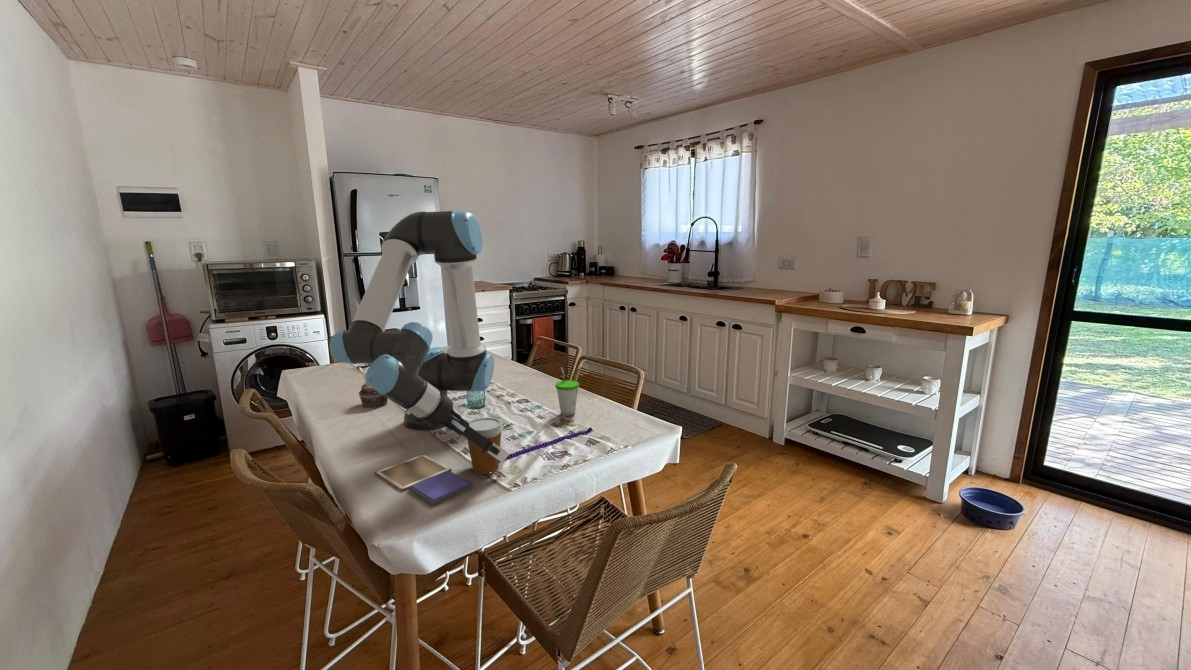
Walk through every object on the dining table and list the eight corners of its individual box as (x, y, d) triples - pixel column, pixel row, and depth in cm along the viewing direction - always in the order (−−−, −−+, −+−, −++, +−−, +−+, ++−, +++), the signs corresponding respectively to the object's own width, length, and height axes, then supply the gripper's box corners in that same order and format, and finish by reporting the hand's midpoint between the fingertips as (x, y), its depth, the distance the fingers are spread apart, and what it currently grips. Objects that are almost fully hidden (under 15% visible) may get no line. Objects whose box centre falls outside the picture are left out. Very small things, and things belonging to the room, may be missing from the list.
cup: (579, 418, 157) (578, 373, 154) (554, 418, 157) (553, 373, 154) (580, 409, 164) (579, 366, 161) (557, 409, 164) (556, 366, 161)
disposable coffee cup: (507, 459, 128) (505, 416, 126) (501, 477, 119) (499, 430, 116) (471, 460, 128) (468, 417, 125) (462, 478, 118) (459, 431, 116)
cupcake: (360, 402, 173) (357, 375, 171) (389, 398, 177) (387, 372, 175) (359, 411, 164) (356, 382, 162) (390, 406, 168) (388, 379, 166)
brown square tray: (423, 455, 130) (423, 453, 130) (451, 471, 122) (451, 468, 122) (375, 474, 121) (374, 471, 121) (401, 491, 112) (401, 489, 112)
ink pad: (448, 474, 120) (448, 469, 120) (473, 487, 114) (473, 483, 114) (408, 490, 113) (408, 485, 113) (433, 506, 106) (432, 501, 106)
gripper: (405, 405, 119) (470, 449, 132) (435, 433, 102) (507, 480, 115) (425, 380, 121) (488, 426, 134) (458, 404, 104) (526, 453, 117)
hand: (496, 451), depth 124 cm, fingers closed on disposable coffee cup, 9 cm apart
